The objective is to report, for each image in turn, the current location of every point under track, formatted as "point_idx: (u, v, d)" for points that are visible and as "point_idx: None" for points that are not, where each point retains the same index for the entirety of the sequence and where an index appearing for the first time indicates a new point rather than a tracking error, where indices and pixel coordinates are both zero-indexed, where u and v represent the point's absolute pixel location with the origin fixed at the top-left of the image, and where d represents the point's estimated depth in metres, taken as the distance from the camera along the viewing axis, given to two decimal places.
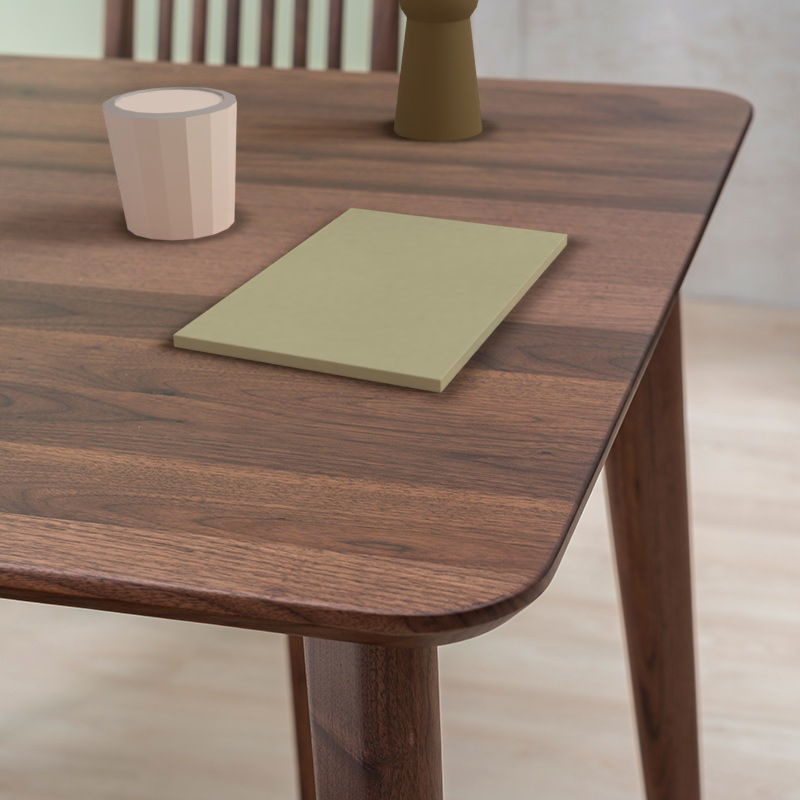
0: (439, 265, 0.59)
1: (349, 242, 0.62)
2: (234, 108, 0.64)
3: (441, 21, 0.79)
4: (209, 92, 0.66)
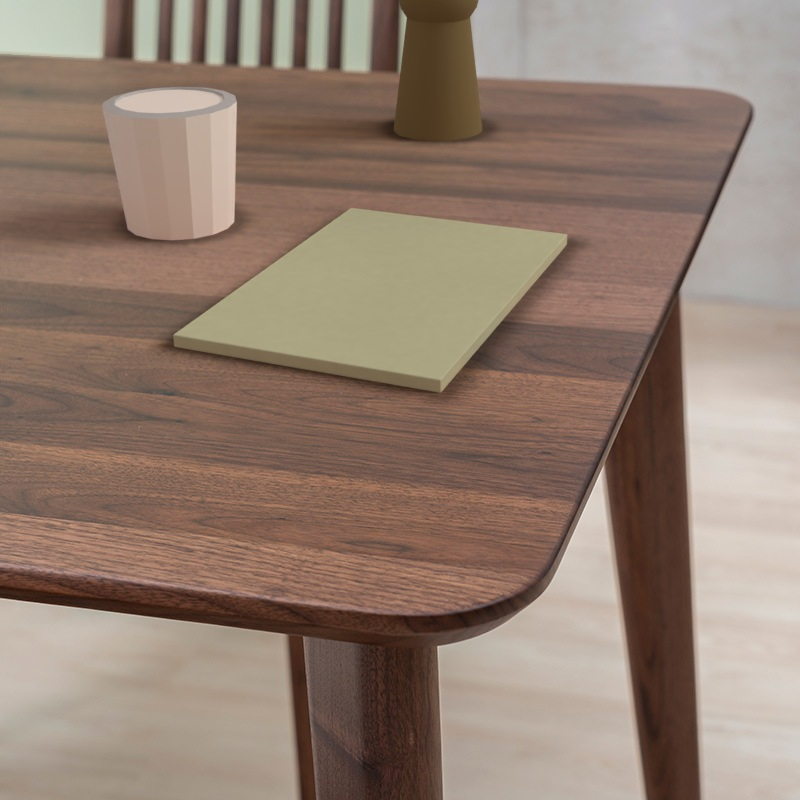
0: (439, 265, 0.59)
1: (349, 242, 0.62)
2: (234, 108, 0.64)
3: (441, 21, 0.79)
4: (209, 92, 0.66)
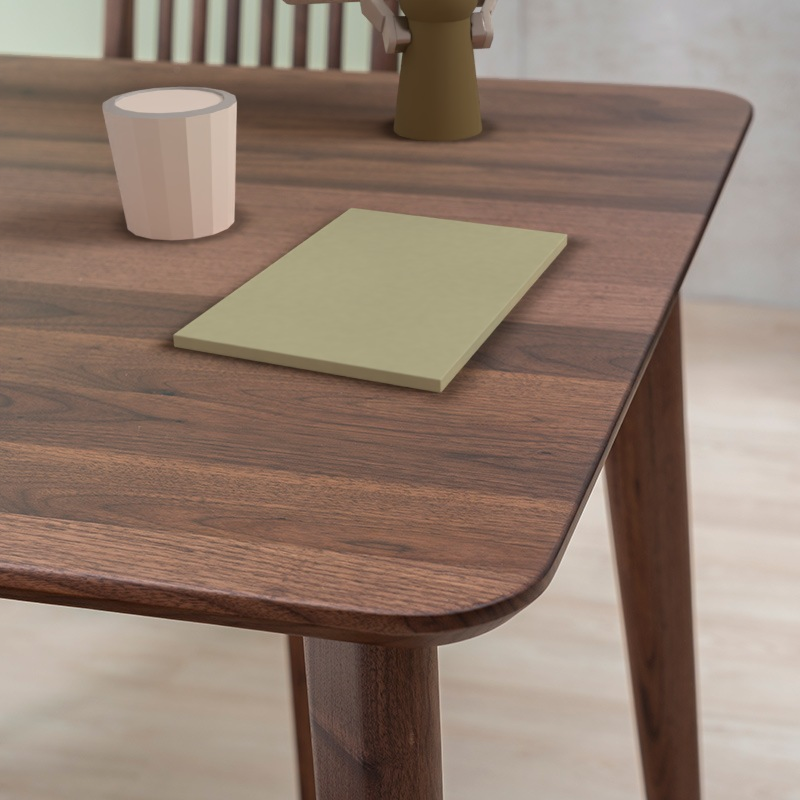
0: (439, 265, 0.59)
1: (349, 242, 0.62)
2: (234, 108, 0.64)
3: (441, 21, 0.79)
4: (209, 92, 0.66)
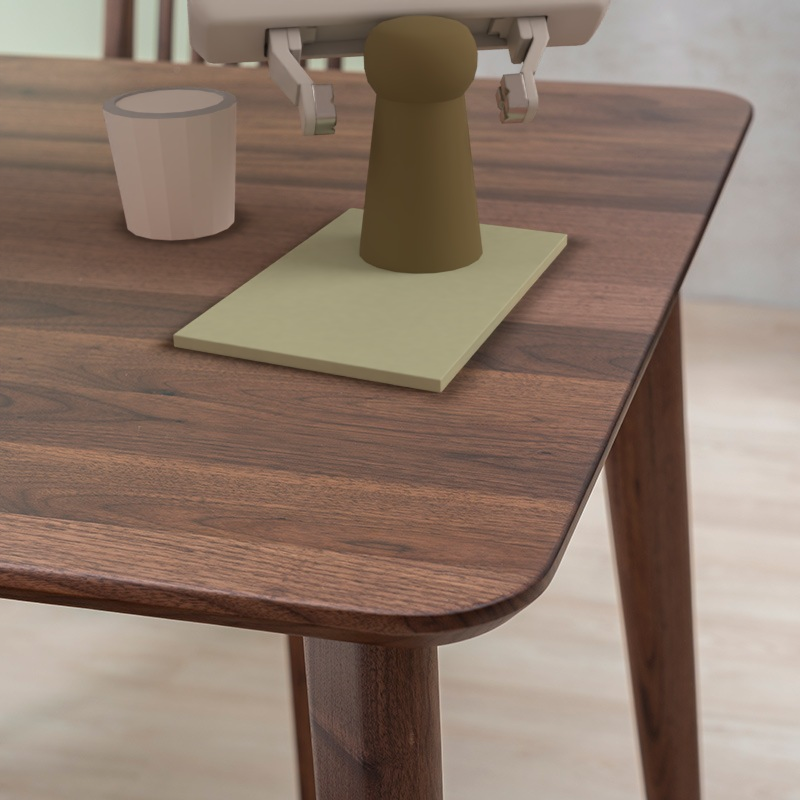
0: None
1: (349, 242, 0.62)
2: (234, 108, 0.64)
3: (424, 101, 0.56)
4: (209, 92, 0.66)
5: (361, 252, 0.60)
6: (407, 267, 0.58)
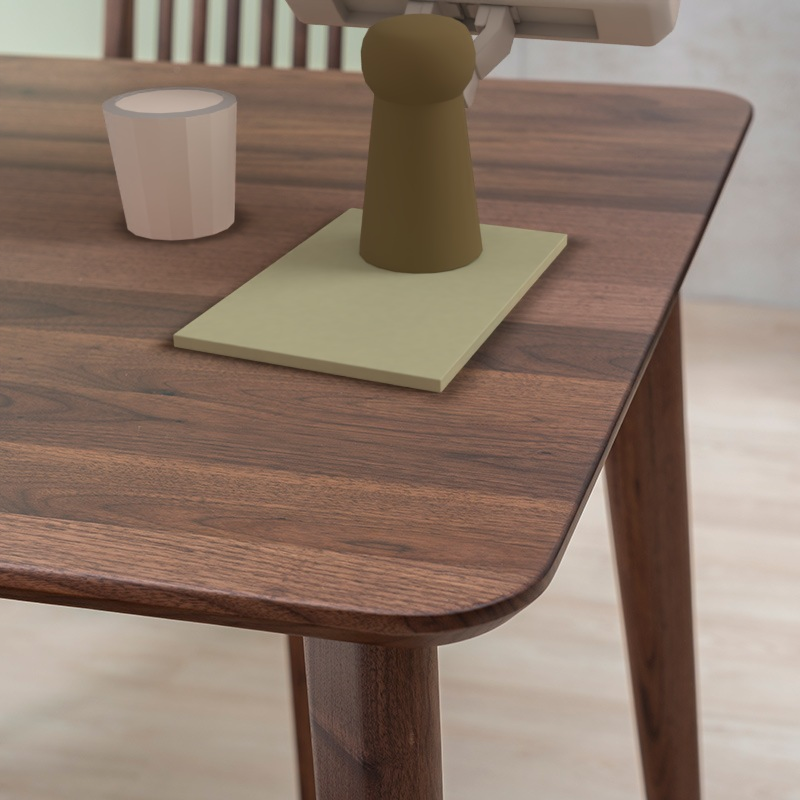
0: None
1: (349, 242, 0.62)
2: (234, 108, 0.64)
3: (422, 103, 0.56)
4: (209, 92, 0.66)
5: (361, 251, 0.60)
6: (407, 267, 0.58)
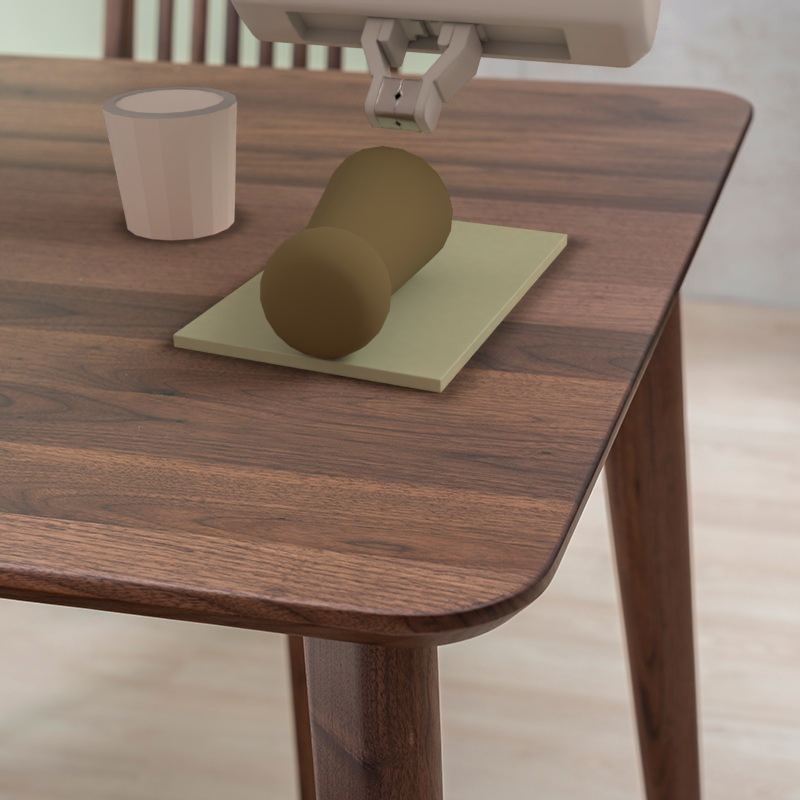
0: (439, 265, 0.59)
1: None
2: (234, 108, 0.64)
3: None
4: (209, 92, 0.66)
5: None
6: None
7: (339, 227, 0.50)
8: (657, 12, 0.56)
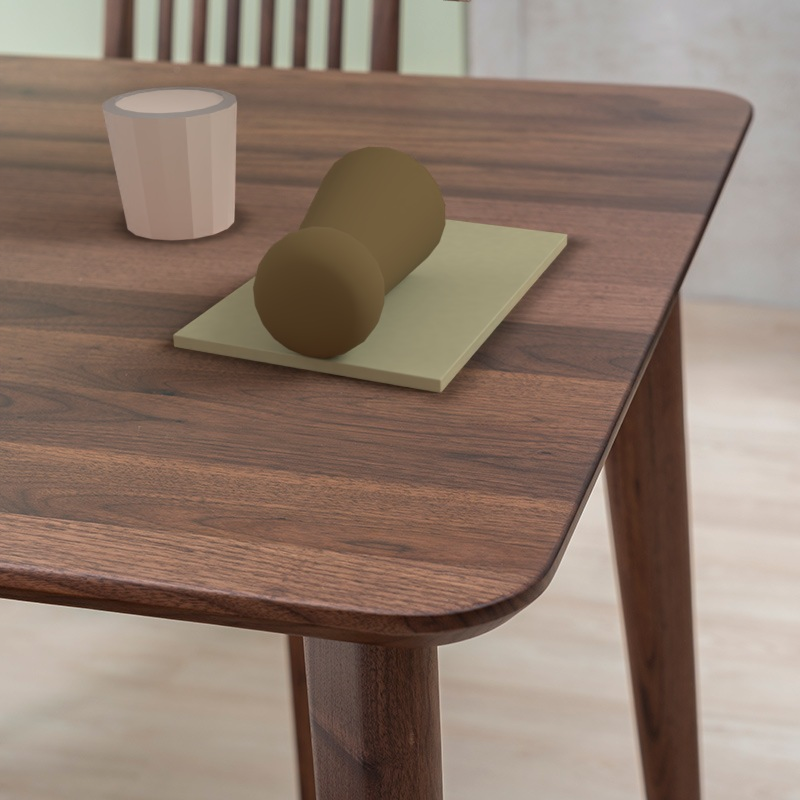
0: (439, 265, 0.59)
1: None
2: (234, 108, 0.64)
3: None
4: (209, 92, 0.66)
5: None
6: None
7: (327, 227, 0.50)
8: None
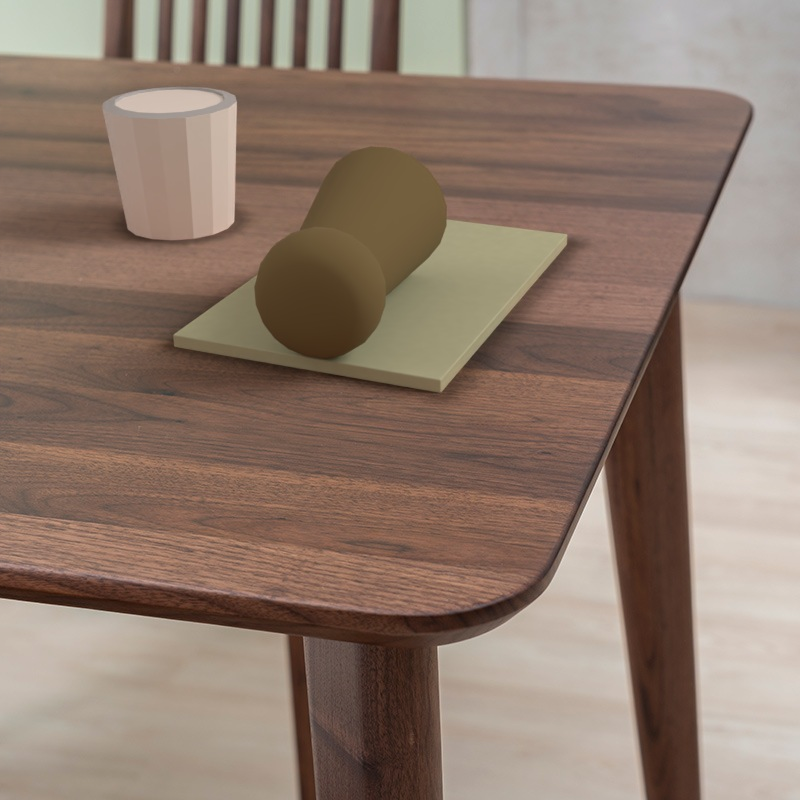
0: (439, 265, 0.59)
1: None
2: (234, 108, 0.64)
3: None
4: (209, 92, 0.66)
5: None
6: None
7: (329, 227, 0.50)
8: None
